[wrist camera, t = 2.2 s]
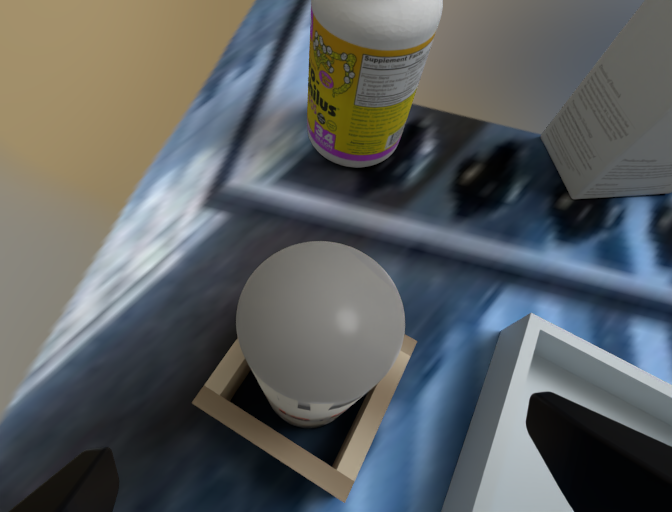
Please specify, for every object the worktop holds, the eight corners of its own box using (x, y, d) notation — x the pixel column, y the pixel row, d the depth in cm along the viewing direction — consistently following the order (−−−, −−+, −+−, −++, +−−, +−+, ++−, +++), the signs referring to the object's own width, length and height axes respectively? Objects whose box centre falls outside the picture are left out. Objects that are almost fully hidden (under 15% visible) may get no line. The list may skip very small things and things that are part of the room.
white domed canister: (326, 447, 17) (357, 441, 8) (247, 397, 18) (198, 343, 9) (368, 363, 19) (429, 287, 10) (295, 321, 20) (295, 217, 11)
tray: (698, 731, 14) (793, 796, 11) (426, 553, 16) (453, 574, 13) (706, 439, 19) (773, 437, 16) (501, 330, 21) (531, 312, 18)
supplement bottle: (299, 107, 27) (301, -133, 16) (384, 102, 29) (441, -126, 17) (315, 177, 25) (332, -57, 13) (409, 168, 26) (497, -55, 14)
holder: (338, 496, 16) (344, 502, 14) (204, 409, 17) (191, 402, 15) (403, 353, 19) (417, 341, 17) (287, 288, 21) (286, 268, 18)
